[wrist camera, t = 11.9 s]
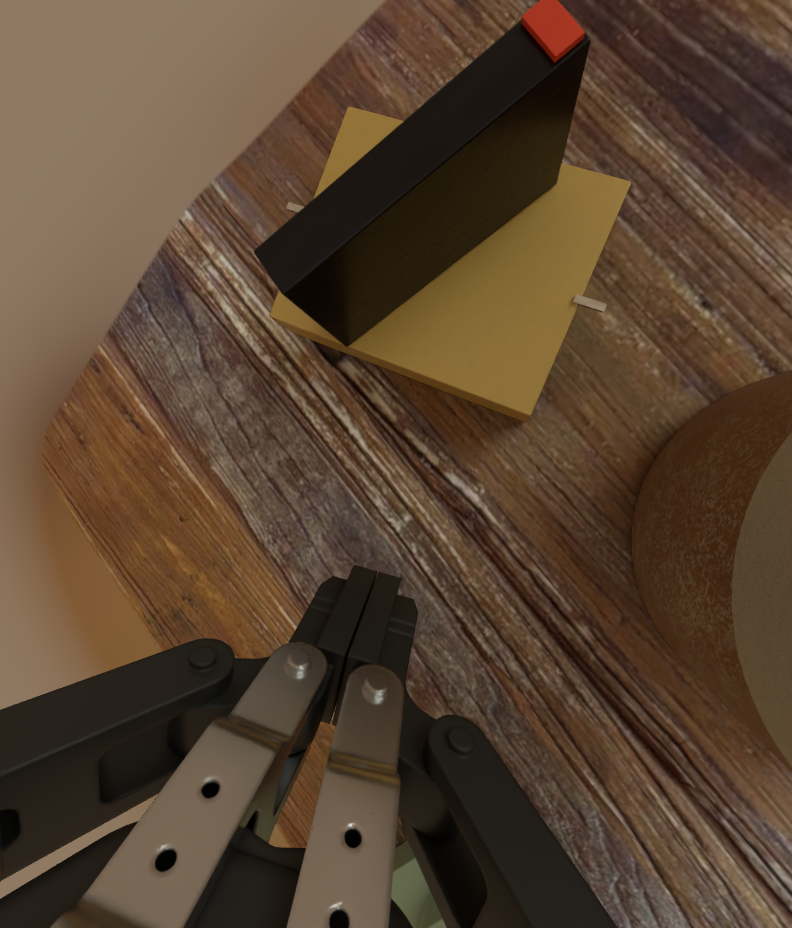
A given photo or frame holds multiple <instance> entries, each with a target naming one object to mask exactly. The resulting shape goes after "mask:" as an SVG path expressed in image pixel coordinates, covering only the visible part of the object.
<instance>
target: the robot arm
mask: <svg viewBox="0 0 792 928" xmlns="http://www.w3.org/2000/svg"><path fill="white" fill-rule="evenodd" d="M376 575H377V571H374V570H371V569H367V568H364V567H360V566H357V565H354V567H353V569H352V571H351V573H350V575H349V577H348V579H347V580H345V579H342V578H338V577H335V576H333V577H331V578H330V579H328V580H327V581H325V582H324V583H322V584H321V585H320V587H319V589H318V591H317V593H316V594H315V597H314V598H313V600H312V602H311V603H310V606H309V607H308V609H307V611H306V612H305V614H304V616H303V618H302V620H301V621H300V623H299V625H298V627H297V629H296V630H295V632H294V634H293V636H292V638H291V639H290V641H289V643H287V644H285V645H282V646H281V647H279V648H278V649H276V650H275V651H274V652H273V654H272V655H271V656H269V657H266V658H260V659H238V658H235V657H234V652H233V650H232V649H231V647H230V646H229V645H227V644H226V643H224V642H223V641H220V640H217V639H209V638H206V639H198V640H194V641H191V642H188V643H185V644H182V645H180V646H177V647H174V648H171V649H168V650H166V651H163V652H160V653H157V654H154V655H152V656H149V657H146V658H144V659H141V660H138V661H135V662H132V663H130V664H127V665H124V666H121V667H118V668H116V669H113V670H110V671H107V672H105V673H102V674H99V675H96V676H93V677H90V678H88V679H85V680H82V681H79V682H77V683H74V684H71V685H68V686H66V687H63V688H60V689H57V690H54V691H51V692H49V693H46V694H43V695H40V696H38V697H35V698H32V699H29V700H26V701H24V702H21V703H18V704H15V705H12V706H10V707H7V708H4V709H2V710H0V881H1V880H3V879H5V878H7V877H9V876H10V875H12V874H14V873H16V872H17V871H19V870H21V869H23V868H25V867H27V866H28V865H30V864H32V863H34V862H36V861H37V860H39V859H41V858H43V857H45V856H46V855H48V854H50V853H52V852H54V851H55V850H57V849H59V848H61V847H63V846H64V845H66V844H68V843H70V842H72V841H74V840H75V839H77V838H79V837H81V836H82V835H84V834H86V833H88V832H90V831H92V830H93V829H95V828H97V827H99V826H101V825H102V824H104V823H106V822H108V821H110V820H111V819H113V818H115V817H117V816H119V815H120V814H122V813H124V812H126V811H128V810H129V809H131V808H133V807H135V806H137V805H138V804H140V803H142V802H144V801H146V800H147V799H149V798H151V797H153V796H155V795H156V794H158V793H159V794H158V796H157V797H156V798H155V800H154V801H153V802H152V804H151V805H150V806H149V808H148V809H147V810H146V812H145V813H144V814H143V816H142V817H141V819H140V820H139V821H137V822H134V823H132V824H129V825H126V826H124V827H122V828H119V829H117V830H115V831H113V832H111V833H109V834H107V835H106V836H104V837H102V838H100V839H99V840H97V841H95V842H94V843H92V844H91V845H89V846H87V847H85V848H84V849H82V850H81V851H79V852H77V853H75V854H74V855H72V856H71V857H69V858H67V859H66V860H64V861H63V862H61V863H59V864H57V865H56V866H54V867H52V868H51V869H49V870H47V871H46V872H44V873H42V874H41V875H39V876H38V877H36V878H34V879H32V880H31V881H29V882H28V883H26V884H24V885H23V886H21V887H20V888H18V889H16V890H14V891H13V892H11V893H10V894H8V895H6V896H4V897H3V898H1V899H0V928H413V927H412V925H411V923H410V922H409V920H408V919H407V917H406V916H405V914H404V913H403V911H402V910H401V909H400V908H399V906H398V905H397V904H396V903H395V902H394V901H393V900H392V899H391V891H392V880H393V868H394V856H395V844H396V832H397V821H398V815H399V816H400V817H401V822H402V828H403V831H404V833H405V836H406V838H407V840H408V843H409V845H410V847H411V849H412V852H413V854H414V856H415V858H416V860H417V863H418V865H419V867H420V869H421V872H422V874H423V876H424V878H425V881H426V883H427V885H428V887H429V890H430V892H431V894H432V896H433V898H434V901H435V903H436V905H437V907H438V910H439V912H440V914H441V916H442V919H443V921H444V923H445V925H446V928H618V927H617V926H616V925H615V923H614V922H613V920H612V919H611V917H610V916H609V914H608V913H607V911H606V910H605V909H604V907H603V906H602V904H601V903H600V901H599V900H598V898H597V897H596V896H595V894H594V893H593V891H592V890H591V888H590V887H589V885H588V884H587V882H586V881H585V880H584V878H583V877H582V875H581V874H580V872H579V871H578V869H577V868H576V867H575V865H574V864H573V862H572V861H571V859H570V858H569V856H568V855H567V853H566V852H565V851H564V849H563V848H562V846H561V845H560V843H559V842H558V840H557V839H556V838H555V836H554V835H553V833H552V832H551V830H550V829H549V827H548V826H547V825H546V823H545V822H544V820H543V819H542V817H541V816H540V814H539V813H538V811H537V810H536V809H535V807H534V806H533V804H532V803H531V801H530V800H529V798H528V797H527V796H526V794H525V793H524V791H523V790H522V788H521V787H520V785H519V784H518V782H517V781H516V780H515V778H514V777H513V775H512V774H511V772H510V771H509V769H508V768H507V767H506V765H505V764H504V762H503V761H502V759H501V758H500V756H499V755H498V753H497V752H496V751H495V749H494V748H493V746H492V745H491V743H490V742H489V740H488V739H487V738H486V736H485V735H484V733H483V732H482V731H481V729H480V728H479V727H478V726H477V725H475V724H474V723H473V722H471V721H470V720H468V719H466V718H464V717H461V716H457V715H445V716H442V717H440V718H438V719H437V720H436V719H434V718H433V717H431V716H430V715H428V714H426V713H425V712H424V711H422V710H421V709H420V708H419V707H417V706H416V705H415V703H414V702H413V701H412V700H411V698H410V696H409V694H408V692H407V689H406V683H405V680H406V674H407V668H408V663H409V658H410V653H411V648H412V642H413V637H414V632H415V626H416V621H417V616H418V611H417V608H416V605H415V602H414V599H411V598H407V597H404V596H400V595H397V593H398V589H399V585H400V581H401V578H399V577H395V576H392V575H388V574H385V573H382V572H379V573H378V575H377V578H376ZM375 579H376V580H375ZM336 704H337V705H336ZM335 707H336V710H335ZM334 710H335V714H334V719H333V723H332V725H335V726H336V730H335V734H334V738H333V742H332V746H331V750H330V754H329V758H328V761H327V765H326V770H325V774H324V778H323V782H322V786H321V790H320V794H319V798H318V802H317V806H316V810H315V814H314V818H313V822H312V827H311V831H310V835H309V839H308V843H307V847H306V848H280V847H274V846H272V845H270V844H269V843H268V842H269V839H270V836H271V834H272V831H273V829H274V826H275V824H276V822H277V819H278V817H279V815H280V813H281V811H282V809H283V806H284V804H285V802H286V800H287V798H288V796H289V794H290V791H291V789H292V787H293V785H294V783H295V781H296V778H297V776H298V774H299V772H300V770H301V768H302V766H303V763H304V761H305V759H306V757H307V755H308V753H309V750H310V747H311V743H312V741H313V740H314V737H315V735H316V732H317V730H318V727H319V724H320V722H321V721H322V722H325V723H328V724H330V721H331V718H332V716H333V713H334Z"/></svg>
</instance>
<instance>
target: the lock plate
mask: <svg viewBox="0 0 792 928" xmlns="http://www.w3.org/2000/svg"><path fill="white" fill-rule="evenodd" d="M402 122H403V121H401V120H398V119H394V118H390V117H386V116H383V115H379V114H375V113H371V112H368V111H364V110H360V109H356V108H353V107H348V109H347V111H346V114H345V117H344V119H343V122H342V125H341V127H340V130H339V133H338V135H337V138H336V140H335V143H334V146H333V148H332V151H331V154H330V156H329V159H328V162H327V164H326V167H325V170H324V172H323V175H322V178H321V180H320V183H319V185H318V188H317V191H316V193H315V196H314V198H315V197H316V196H318V195H319V194H320V193H321V192H322V191H323V190H325V189H326V188H327V187H328V186H329V185H330V184H332V183H333V182H334V181H335V180H336V179H337V178H338V177H340V176H341V175H342V174H343V173H344V172H345V171H347V170H348V169H349V168H350V167H351V166H352V165H354V164H355V163H356V162H357V161H358V160H359V159H360V158H362V157H363V156H364V155H365V154H366V153H367V152H369V151H370V150H371V149H372V148H373V147H374V146H376V145H377V144H378V143H379V142H380V141H381V140H382V139H384V138H385V137H386V136H387V135H388V134H389V133H391V132H392V131H393V130H394V129H395V128H396V127H398V126H399V125H400V124H401V123H402ZM630 185H631V182H630V181H627V180H623V179H619V178H616V177H612V176H608V175H604V174H601V173H597V172H593V171H589V170H586V169H582V168H578V167H574V166H571V165H567V164H563V163H562V164H561V168H560V172H559V176H558V181H557V183H556V185H554V186H553V187H552V188H550V189H549V190H548V191H547V192H545V193H544V194H543V195H541V196H540V197H539V198H538V199H536V200H535V201H534V202H532V203H531V204H530V205H529V206H527V207H526V208H525V209H524V210H522V211H521V212H520V213H518V214H517V215H516V216H515V217H513V218H512V219H511V220H509V221H508V222H507V223H506V224H504V225H503V226H502V227H500V228H499V229H498V230H497V231H495V232H494V233H493V234H491V235H490V236H489V237H488V238H486V239H485V240H484V241H482V242H481V243H480V244H479V245H477V246H476V247H475V248H474V249H472V250H471V251H470V252H468V253H467V254H466V255H465V256H463V257H462V258H461V259H459V260H458V261H457V262H456V263H454V264H453V265H452V266H450V267H449V268H448V269H447V270H445V271H444V272H443V273H441V274H440V275H439V276H438V277H436V278H435V279H434V280H433V281H431V282H430V283H429V284H427V285H426V286H425V287H424V288H422V289H421V290H420V291H418V292H417V293H416V294H415V295H413V296H412V297H411V298H409V299H408V300H407V301H406V302H404V303H403V304H402V305H400V306H399V307H398V308H397V309H395V310H394V311H393V312H392V313H390V314H389V315H388V316H386V317H385V318H384V319H383V320H381V321H380V322H379V323H377V324H376V325H375V326H374V327H372V328H371V329H370V330H368V331H367V332H366V333H365V334H363V335H362V336H361V337H359V338H358V339H357V340H356V341H354V342H353V343H352V344H351V345H349V346H348V347H346V346H344V345H343V344H342V343H341V342H339V341H338V340H337V339H336V338H335V337H333V336H332V335H331V334H330V333H329V332H327V331H326V330H325V329H324V328H322V327H321V326H320V325H319V324H318V323H316V322H315V321H314V320H313V319H312V318H310V317H309V316H308V315H307V314H306V313H304V312H303V311H302V310H301V309H300V308H298V307H297V306H296V305H295V304H293V303H292V302H291V301H290V300H289V299H287V298H286V297H285V296H284V295H283V294H282V293H281V292H280V290H279V291H278V294H277V297H276V299H275V302H274V305H273V307H272V310H271V313H270V315H269V316H270V317H271V318H272V319H274V320H275V321H276V322H278V323H279V324H281V325H282V326H284V327H285V328H287V329H288V330H290V331H291V332H293V333H294V334H297V335H300V336H302V337H305V338H307V339H310V340H313V341H315V342H318V343H320V344H323V345H326V346H328V347H331V348H333V349H336V350H339V351H341V352H344V353H346V354H349V355H351V356H354V357H357V358H359V359H362V360H364V361H367V362H370V363H372V364H375V365H377V366H380V367H383V368H385V369H388V370H390V371H393V372H396V373H398V374H401V375H403V376H406V377H409V378H411V379H414V380H416V381H419V382H422V383H424V384H427V385H429V386H432V387H435V388H437V389H440V390H442V391H445V392H448V393H450V394H453V395H455V396H458V397H461V398H463V399H466V400H468V401H471V402H474V403H476V404H479V405H481V406H484V407H486V408H489V409H492V410H494V411H497V412H499V413H502V414H505V415H507V416H510V417H512V418H515V419H518V420H520V421H523V422H526V421H527V419H528V418H529V417H530V416H531V414H532V412H533V409H534V407H535V405H536V402H537V400H538V398H539V395H540V393H541V391H542V389H543V386H544V384H545V382H546V379H547V377H548V375H549V372H550V370H551V368H552V365H553V363H554V361H555V358H556V356H557V354H558V351H559V349H560V347H561V345H562V342H563V340H564V338H565V335H566V333H567V331H568V328H569V326H570V324H571V321H572V319H573V317H574V314H575V312H576V310H577V307H578V305H581V306H584V307H587V308H590V309H593V310H596V311H599V312H602V313H603V312H604V311H605V308H606V306H607V304H606V303H602V302H599V301H596V300H593V299H590V298H587V297H584V296H583V294H584V291H585V289H586V287H587V284H588V282H589V280H590V277H591V275H592V273H593V270H594V268H595V266H596V263H597V261H598V259H599V256H600V254H601V252H602V249H603V247H604V245H605V243H606V240H607V238H608V236H609V233H610V231H611V229H612V226H613V224H614V222H615V219H616V217H617V215H618V212H619V210H620V208H621V205H622V203H623V201H624V199H625V196H626V194H627V192H628V189H629V187H630ZM303 208H304V207H303V206H300V205H297V204H294V203H291V202H288V205H287V208H286V209H287V210H289V211H292V212H295V213H298V212H299V211H300V210H301V209H303Z"/></svg>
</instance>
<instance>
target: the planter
mask: <svg viewBox="0 0 792 928" xmlns="http://www.w3.org/2000/svg"><path fill="white" fill-rule="evenodd" d="M631 546H632V560H633V567H634V573H635V578H636V581H637V585H638V589H639V592H640V595H641V597H642V600H643V602H644V605H645V607H646V609H647V611H648V613H649V615H650V617H651V619H652V621H653V623H654V624H655V626H656V628H657V630H658V631H659V633H660V634H661V635H662V637H663V638H664V640H665V641H666V642H667V644H668V645H669V646H670V648H671V649H672V650H673V651H674V652H675V653H676V655H677V656H678V657H679V658H680V659H681V660H682V661H683V662H684V663H685V664H686V665H687V666H688V667H689V668H690V669H691V670H692V671H693V672H694V673H695V674H696V675H697V676H698V677H699V678H700V679H701V680H702V681H703V682H704V684H705V685H706V686H707V687H708V688H709V689H710V690H711V691H712V692H713V693H714V694H715V695H716V696H717V697H718V698H719V699H720V700H721V701H722V702H723V703H724V704H725V705H726V706H727V707H728V708H729V709H730V710H731V711H732V712H733V713H734V714H735V715H736V716H737V717H738V718H739V719H740V720H741V721H742V722H743V723H744V724H745V725H746V726H747V727H748V728H749V729H750V730H751V731H752V732H753V733H754V734H755V735H756V736H757V737H758V738H759V739H760V741H761V742H762V743H763V744H764V745H765V746H766V747H767V748H768V749H769V750H770V751H771V752H772V753H773V754H774V755H775V756H776V757H777V758H778V759H779V760H780V761H781V762H782V763H783V764H784V765H785V766H786V767H787V768H788V769H789V770H790V771H791V772H792V371H788V372H785V373H782V374H779V375H776V376H773V377H769V378H766V379H763V380H760V381H757V382H754V383H752V384H749V385H746V386H744V387H742V388H740V389H737V390H735V391H733V392H731V393H729V394H727V395H725V396H723V397H722V398H720V399H718V400H717V401H715V402H713V403H712V404H710V405H709V406H707V407H706V408H704V409H703V410H702V411H700V412H699V413H698V414H696V415H695V416H694V417H693V418H691V419H690V420H689V421H688V422H687V423H686V424H685V425H683V426H682V427H681V428H680V429H679V430H678V431H677V432H676V433H675V435H674V436H673V437H672V438H671V439H670V440H669V441H668V443H667V444H666V445H665V447H664V448H663V449H662V450H661V452H660V453H659V455H658V456H657V458H656V459H655V461H654V463H653V464H652V466H651V468H650V470H649V471H648V474H647V476H646V478H645V480H644V482H643V485H642V487H641V490H640V493H639V496H638V499H637V503H636V507H635V511H634V517H633V524H632V540H631Z"/></svg>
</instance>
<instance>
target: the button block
mask: <svg viewBox="0 0 792 928" xmlns="http://www.w3.org/2000/svg"><path fill="white" fill-rule="evenodd" d="M391 899H392V900H393V901H394V902H395V903H396V904H397V905H398V906H399V908H400V909H401V910H402V911H403V913H404V914H405V916H406V917H407V919H408V920H409V922H410V923H411V925H412V927H413V928H446V925H445V923H444V921H443V919H442V916H441V914H440V912H439V910H438V907H437V905H436V903H435V901H434V898H433V896H432V894H431V892H430V890H429V887H428V885H427V883H426V881H425V878H424V876H423V874H422V872H421V869H420V867H419V865H418V863H417V860H416V858H415V856H414V854H413V852H412V849H411V847H410V845H409V843H408V840H407V841H405V842H404V843H402V844H401V845H399V846H398V847H396V848H395V856H394V868H393V880H392V891H391Z"/></svg>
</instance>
